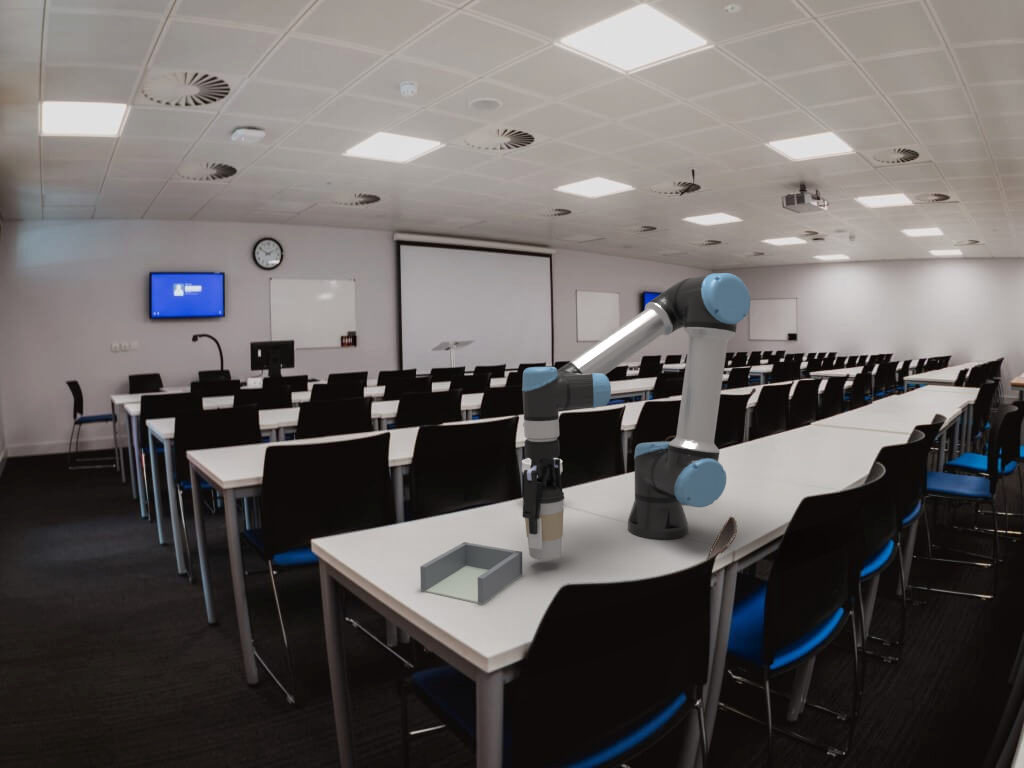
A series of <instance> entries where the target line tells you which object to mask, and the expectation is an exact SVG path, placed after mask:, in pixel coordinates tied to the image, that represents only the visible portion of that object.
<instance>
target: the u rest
mask: <svg viewBox="0 0 1024 768" xmlns="http://www.w3.org/2000/svg"><path fill="white" fill-rule="evenodd" d="M419 570H420V571H419V572H420V591H421V592H424V593H429V594H433V595H439V596H441V597H442V596H443V597H448V598H452V599H455V600H456V599H457V600H461V601H465V602H470V603H475V604H479V605H485V604H487V603H488V602H489V601H490V600H492V599H493V598H494V597H496V596H497V595H498V594H499V593H501V592H502V591H503V590H505V589H506V588H507V587H508V586H510V585H511V584H512V583H514V582H515V581H516V580H518V579H519V578H522V577H521V576H523V551H518V550H513V549H508V548H501V547H495V546H489V545H483V544H479V543H478V544H477V543H473V542H472V543H471V542H465V541H464V542H462V543H460V544H458V545H457V546H454V547H453V548H451V549H449V550H447V551H445V552H444V553H442V554H439V555H438V556H436V557H435V558H433V559H431V560H430V561H429V560H428V562H426V563H424V564H422V565H420V569H419Z"/></svg>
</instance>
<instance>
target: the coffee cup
mask: <svg viewBox="0 0 1024 768" xmlns="http://www.w3.org/2000/svg"><path fill="white" fill-rule="evenodd" d="M564 495H565V493H564V491H563V490H562V491H560V489H559V487H557V486H547V485H546V487H544V489H543V490H542V498H541V499H540V500H541V502H540V504H541V508H540V515H539V518H541V522H542V549H535V548H529V547H528V554H529V557H531V558H532V559H535V560H543V561H544V560H545V561H546V560H554V559H558V558H559V557H560V556H562V543H563V542H562V539H563V538H562V537H563V531H564V500H565V496H564ZM523 498H524V493H523V494H522V499H523ZM524 520H525V521H524V522H525V532H526V537H527V543H528V545H529V524H528V518H524Z"/></svg>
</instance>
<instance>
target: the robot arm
mask: <svg viewBox="0 0 1024 768" xmlns="http://www.w3.org/2000/svg"><path fill="white" fill-rule="evenodd" d="M644 306H645V307H644V310H643V311H641V312H640V313H638V314H636V316H634V317H633V318H631V319H630V320H628V321H627V322H625V323H624V324H622V325H621V326H620V327H618V328H617V329H616V330H614V331H612V332H611V333H609V334H608V335H606V336H605V337H604V338H602V339H601V340H599V341H598V342H597V343H595V344H593V345H592V346H591V347H589V348H588V349H587V350H585V351H583V352H582V353H581V354H579V355H578V356H576V357H574V358H573V359H572V360H571V361H569V362H567V363H566V364H565V365H563V366H561V367H560V368H559V369H557V368H556V367H555V366H532V367H527V368H525V369H524V370H523V373H522V388H521V391H522V404H523V406H522V408H523V423H522V426H523V428H524V433H523V434H524V437H525V438H526V439H525V440H524V456H525V457H526V459H527V458H530V459H531V467H530V470H524V474H523V481H524V485H523V494H524V498H523V497H522V500H523V501H522V502H523V503H522V517H523V518H524V519H525V518H528V524H529V544H528V549H529V548H535V549H542V522H541V518H539V515H540V508H541V504H540V502H541V500H540V499H541V498H542V490H543V489H544V487H546V485H547V486H557V487H559V489H560V491H562V492H563V485H562V473H561V474H560V459H561V458H558V457H559V456H560V440H559V436H560V422H559V421H560V419H559V418H560V416H559V410H562V411H563V410H573V409H574V410H576V409H595V408H600V407H604V406H607V405H608V403H609V402H610V400H611V396H612V387H611V382H610V380H609V379H610V378H609V377H608V376H607V374H608V373H610V372H611V371H612V370H614V369H616V368H617V367H618V366H620V365H621V364H623V363H624V362H626V361H627V360H628V359H629V358H631V357H632V356H634V355H635V354H637V353H639V352H640V351H641V350H643V349H644V348H645V347H647V346H649V344H651V343H652V342H654V341H655V340H657V339H658V338H659V337H661V336H669V335H671V334H672V333H674V332H675V331H677V330H680V329H682V328H683V331H685V333H686V334H687V335H688V338H689V340H688V347H687V355H686V361H685V362H686V364H685V370H684V376H683V384H682V391H681V400H680V407H679V412H678V413H679V415H678V421H677V422H678V423H677V427H676V435H675V436H676V438H673V439H672V440H671V441H668V442H665V441H664V442H661V441H651V442H641V443H638V444H637V445H636V446H635V449H634V456H633V459H634V501H633V504H632V507H631V510H630V513H629V515H628V519H627V531H628V532H629V533H631V534H633V535H635V536H638V537H642V538H646V539H647V538H648V539H655V540H671V539H680V538H683V537H685V536H687V535H688V533H689V524H688V519H687V516H686V513H685V511H684V507H683V505H684V506H689V507H690V506H691V507H693V508H704V507H708V506H710V505H712V504H714V502H716V501H717V500H718V499H720V497H721V496H722V495H723V492H724V490H725V489H726V485H727V473H726V470H725V469H724V466H723V465H722V464H721V463H720V461H719V458H720V449H719V448H718V447H717V445H716V443H715V438H716V436H715V435H716V430H717V422H718V415H719V409H720V408H719V407H720V400H721V392H722V385H723V378H724V371H725V363H726V358H727V350H728V347H727V346H728V342H729V340H730V339H732V338H733V337H734V336H736V332H737V326H738V323H740V322H741V321H743V320H744V318H745V317H747V316H748V313H749V311H750V308H751V295H750V291H749V289H748V287H747V286H746V285H745V283H744V281H743V280H742V279H741V278H740V277H738V276H737V275H735V274H733V273H730V272H729V273H728V272H723V273H721V272H720V273H719V272H718V273H717V272H714V273H711V274H707V275H702V276H701V275H700V276H695V277H689V278H685V279H683V280H680V281H678V282H676V283H675V284H673V285H671V286H670V287H668V288H667V289H666V290H664V291H663V292H661V294H659V295H658V296H656V297H654V298H653V299H652V300H650V301H649V302H647V303H646V304H645V305H644ZM554 458H558V459H554ZM539 482H540V483H539ZM682 504H683V505H682Z"/></svg>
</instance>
